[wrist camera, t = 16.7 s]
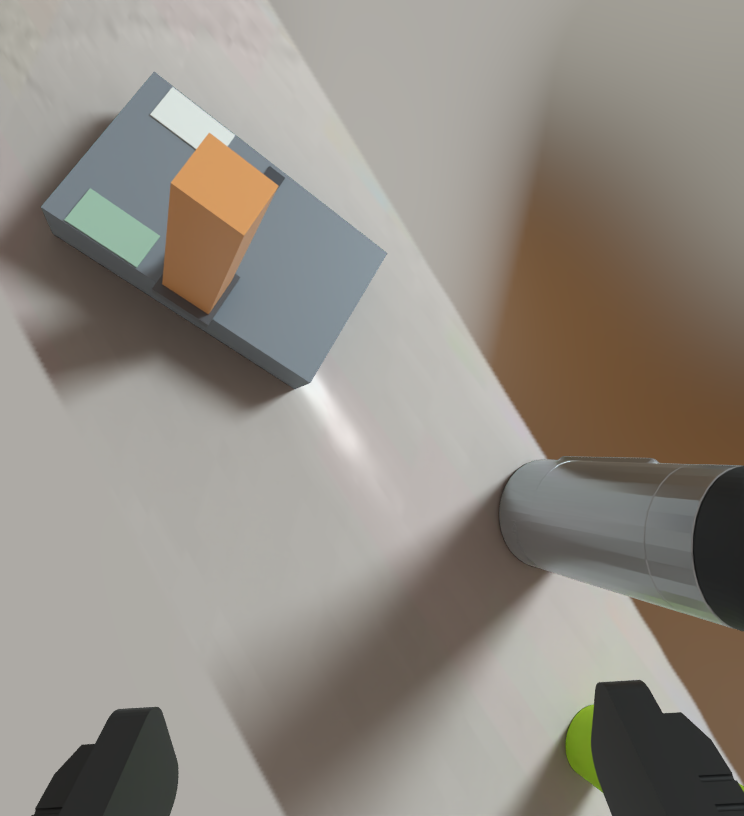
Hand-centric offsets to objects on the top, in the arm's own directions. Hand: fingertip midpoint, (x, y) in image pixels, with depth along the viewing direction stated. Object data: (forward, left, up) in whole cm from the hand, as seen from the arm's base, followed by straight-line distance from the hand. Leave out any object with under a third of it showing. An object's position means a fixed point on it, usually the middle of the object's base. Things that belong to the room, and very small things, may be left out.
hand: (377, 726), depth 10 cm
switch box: (-10, -16, -28) cm, 34 cm away
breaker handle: (-6, -14, -24) cm, 28 cm away
